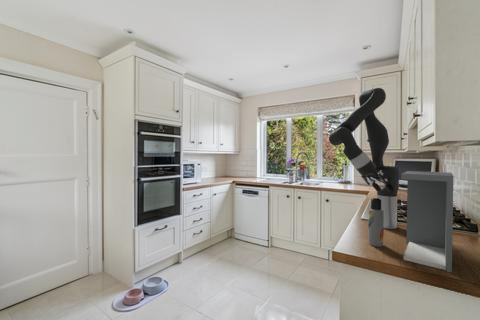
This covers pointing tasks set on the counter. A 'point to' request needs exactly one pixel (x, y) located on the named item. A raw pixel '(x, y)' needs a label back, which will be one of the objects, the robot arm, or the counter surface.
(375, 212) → the lotion bottle
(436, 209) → the open shelf
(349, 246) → the counter surface
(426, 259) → the shelf mat
